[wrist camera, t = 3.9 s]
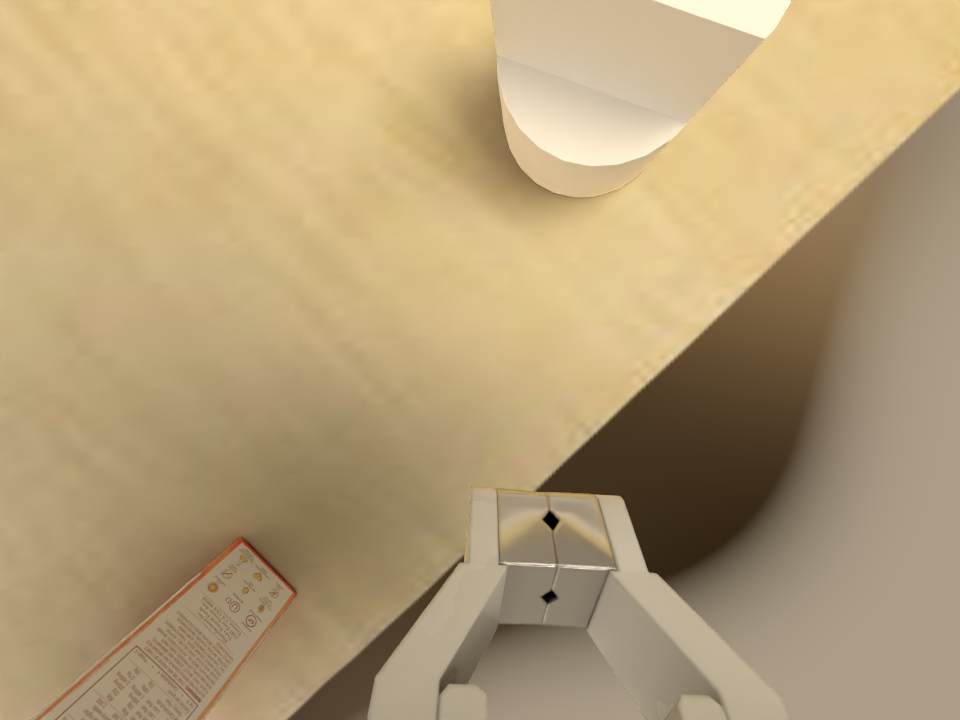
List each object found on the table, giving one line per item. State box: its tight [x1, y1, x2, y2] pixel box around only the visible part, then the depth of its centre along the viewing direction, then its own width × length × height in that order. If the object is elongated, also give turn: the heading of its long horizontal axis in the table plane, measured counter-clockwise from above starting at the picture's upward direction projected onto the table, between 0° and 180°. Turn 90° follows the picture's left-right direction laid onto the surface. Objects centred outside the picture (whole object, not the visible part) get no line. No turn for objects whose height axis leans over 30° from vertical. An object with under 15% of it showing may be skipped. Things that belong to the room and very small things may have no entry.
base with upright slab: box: [490, 0, 792, 198], centre depth 18 cm, size 9×9×12 cm
